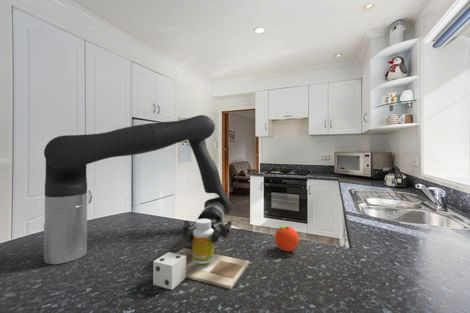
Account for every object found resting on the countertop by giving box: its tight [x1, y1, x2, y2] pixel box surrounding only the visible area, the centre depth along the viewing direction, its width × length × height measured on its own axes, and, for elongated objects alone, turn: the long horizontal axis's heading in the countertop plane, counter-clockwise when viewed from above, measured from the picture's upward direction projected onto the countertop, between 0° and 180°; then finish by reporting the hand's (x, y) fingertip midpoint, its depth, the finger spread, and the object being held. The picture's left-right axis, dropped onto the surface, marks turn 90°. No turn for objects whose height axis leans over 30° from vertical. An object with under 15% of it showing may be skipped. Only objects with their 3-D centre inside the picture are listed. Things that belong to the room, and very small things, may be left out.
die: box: [152, 251, 186, 290], centre depth 49 cm, size 5×5×5 cm
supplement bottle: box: [191, 218, 215, 264], centre depth 55 cm, size 5×5×10 cm
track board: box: [174, 247, 250, 290], centre depth 55 cm, size 20×12×1 cm, turn 68°
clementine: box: [272, 225, 300, 252], centre depth 65 cm, size 8×7×7 cm
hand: (201, 239), depth 53 cm, fingers closed on supplement bottle, 5 cm apart
